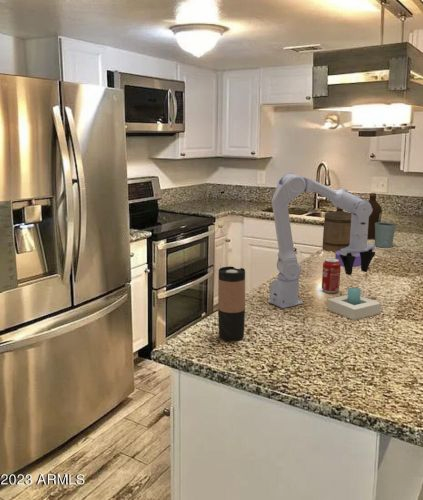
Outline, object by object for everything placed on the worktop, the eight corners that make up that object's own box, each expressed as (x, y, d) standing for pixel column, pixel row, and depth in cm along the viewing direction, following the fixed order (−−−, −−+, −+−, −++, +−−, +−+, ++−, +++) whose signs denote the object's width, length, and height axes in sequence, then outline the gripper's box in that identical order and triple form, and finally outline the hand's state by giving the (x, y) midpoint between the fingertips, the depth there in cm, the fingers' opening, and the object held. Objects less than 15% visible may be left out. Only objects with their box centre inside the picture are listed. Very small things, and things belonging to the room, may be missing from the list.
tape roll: (363, 267, 220) (364, 256, 219) (336, 266, 222) (336, 255, 221) (360, 261, 232) (360, 250, 230) (333, 260, 233) (334, 249, 232)
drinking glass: (370, 244, 265) (371, 222, 262) (387, 244, 267) (389, 221, 264) (379, 248, 255) (381, 225, 253) (397, 248, 257) (399, 225, 254)
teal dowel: (352, 312, 163) (353, 291, 162) (344, 308, 167) (345, 288, 165) (362, 310, 165) (363, 290, 163) (353, 307, 168) (355, 286, 167)
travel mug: (222, 343, 141) (222, 274, 136) (214, 333, 148) (214, 267, 143) (248, 340, 143) (249, 272, 138) (239, 330, 150) (240, 265, 145)
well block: (354, 320, 158) (354, 309, 157) (326, 309, 168) (327, 299, 167) (380, 313, 164) (381, 303, 163) (352, 303, 174) (353, 293, 173)
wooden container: (358, 251, 250) (361, 207, 245) (331, 253, 246) (333, 208, 241) (343, 245, 264) (345, 203, 259) (317, 247, 260) (319, 204, 255)
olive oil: (360, 239, 279) (363, 194, 273) (359, 235, 289) (362, 192, 283) (380, 240, 276) (383, 194, 271) (379, 236, 286) (382, 192, 281)
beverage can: (326, 287, 191) (328, 257, 189) (341, 290, 187) (343, 259, 185) (318, 291, 186) (320, 260, 184) (334, 294, 183) (336, 262, 180)
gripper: (352, 238, 165) (349, 278, 168) (382, 234, 172) (379, 272, 175) (336, 235, 171) (334, 273, 174) (366, 230, 178) (364, 268, 181)
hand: (356, 272), depth 175 cm, fingers open, 7 cm apart
